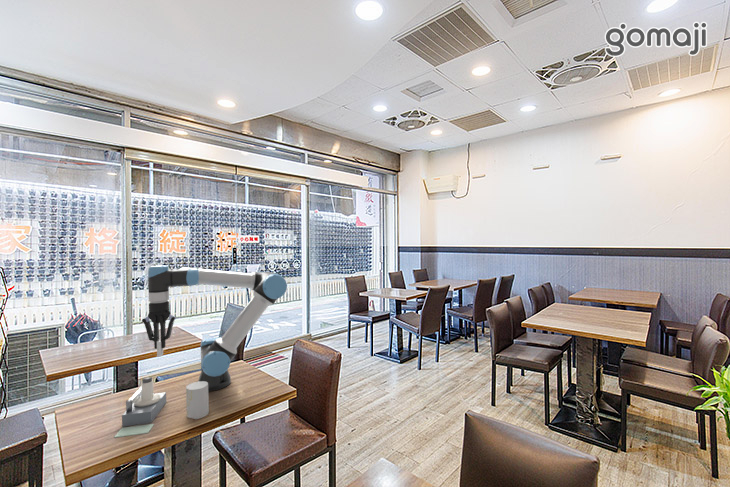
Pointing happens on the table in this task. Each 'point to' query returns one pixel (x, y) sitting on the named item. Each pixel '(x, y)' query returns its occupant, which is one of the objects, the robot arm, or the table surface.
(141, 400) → the plug
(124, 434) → the mat
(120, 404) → the table surface
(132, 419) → the socket block
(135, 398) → the record player tonearm
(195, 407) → the cup
